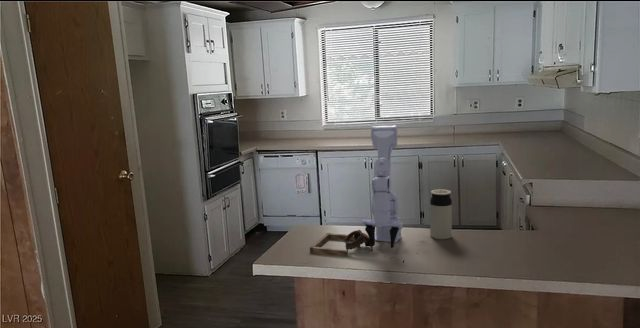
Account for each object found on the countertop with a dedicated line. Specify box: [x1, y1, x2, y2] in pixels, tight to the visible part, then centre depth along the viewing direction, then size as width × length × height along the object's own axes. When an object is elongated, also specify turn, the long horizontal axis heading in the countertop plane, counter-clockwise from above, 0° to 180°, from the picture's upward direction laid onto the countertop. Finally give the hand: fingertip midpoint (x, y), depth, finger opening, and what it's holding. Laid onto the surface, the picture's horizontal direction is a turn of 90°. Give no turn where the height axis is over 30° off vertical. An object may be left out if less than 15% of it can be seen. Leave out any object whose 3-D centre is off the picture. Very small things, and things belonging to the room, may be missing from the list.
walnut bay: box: [309, 232, 356, 257], centre depth 176 cm, size 14×17×2 cm
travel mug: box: [429, 188, 453, 240], centre depth 181 cm, size 8×8×18 cm
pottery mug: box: [344, 229, 374, 252], centre depth 172 cm, size 12×10×8 cm
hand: (382, 246), depth 169 cm, fingers open, 6 cm apart
